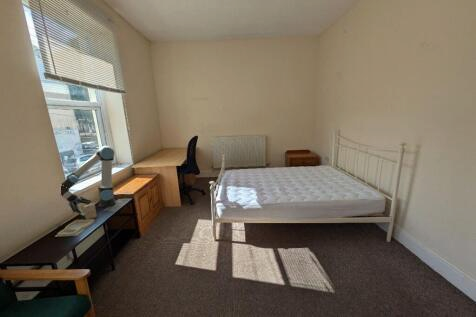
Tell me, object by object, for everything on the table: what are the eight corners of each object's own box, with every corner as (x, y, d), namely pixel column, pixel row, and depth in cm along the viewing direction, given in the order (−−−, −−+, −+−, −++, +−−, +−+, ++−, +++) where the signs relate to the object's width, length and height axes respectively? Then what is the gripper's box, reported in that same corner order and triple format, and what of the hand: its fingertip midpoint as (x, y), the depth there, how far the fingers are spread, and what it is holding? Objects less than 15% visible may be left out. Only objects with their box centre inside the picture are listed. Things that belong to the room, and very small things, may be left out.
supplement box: (96, 215, 193) (93, 202, 190) (97, 217, 189) (94, 204, 187) (85, 218, 187) (82, 205, 184) (86, 220, 184) (83, 207, 181)
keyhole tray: (76, 222, 180) (75, 220, 180) (95, 221, 180) (94, 219, 180) (54, 236, 158) (54, 233, 158) (76, 235, 159) (75, 233, 158)
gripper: (78, 194, 196) (96, 208, 199) (56, 205, 171) (77, 220, 174) (82, 189, 195) (100, 202, 198) (61, 199, 170) (82, 214, 173)
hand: (89, 211), depth 186 cm, fingers open, 13 cm apart
